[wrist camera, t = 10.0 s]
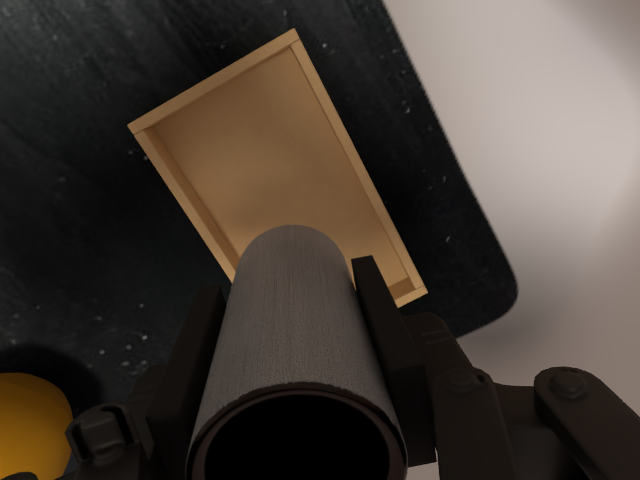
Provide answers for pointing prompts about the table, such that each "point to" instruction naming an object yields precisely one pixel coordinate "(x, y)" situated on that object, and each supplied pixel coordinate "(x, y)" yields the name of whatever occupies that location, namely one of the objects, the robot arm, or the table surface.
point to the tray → (272, 163)
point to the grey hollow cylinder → (295, 374)
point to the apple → (33, 426)
